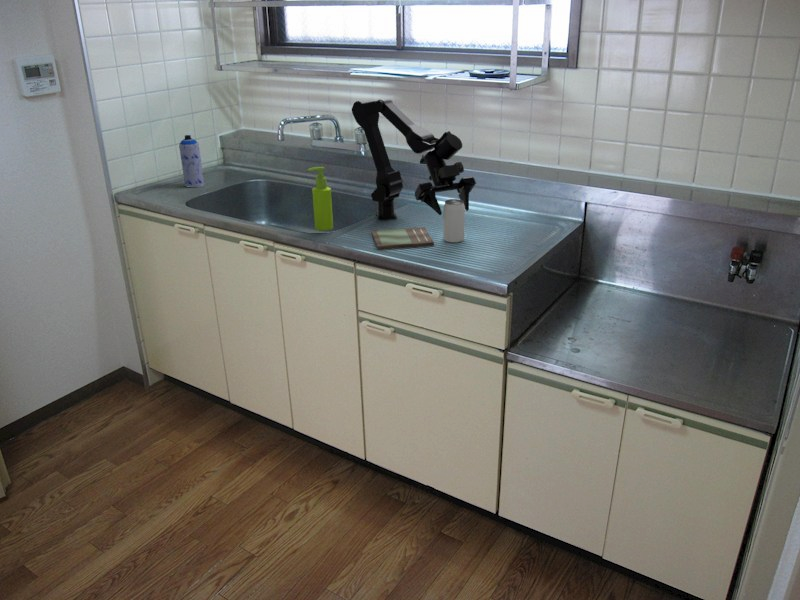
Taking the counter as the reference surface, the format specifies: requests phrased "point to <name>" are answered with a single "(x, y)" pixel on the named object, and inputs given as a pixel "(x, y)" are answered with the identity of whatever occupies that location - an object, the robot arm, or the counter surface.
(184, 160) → the aerosol can
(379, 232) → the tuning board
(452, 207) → the can
